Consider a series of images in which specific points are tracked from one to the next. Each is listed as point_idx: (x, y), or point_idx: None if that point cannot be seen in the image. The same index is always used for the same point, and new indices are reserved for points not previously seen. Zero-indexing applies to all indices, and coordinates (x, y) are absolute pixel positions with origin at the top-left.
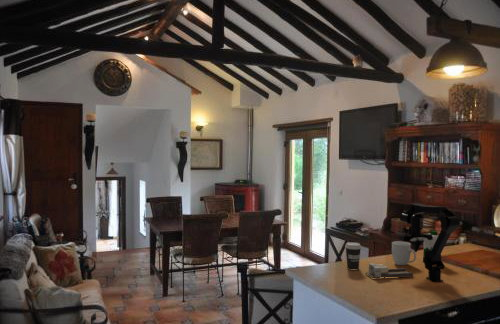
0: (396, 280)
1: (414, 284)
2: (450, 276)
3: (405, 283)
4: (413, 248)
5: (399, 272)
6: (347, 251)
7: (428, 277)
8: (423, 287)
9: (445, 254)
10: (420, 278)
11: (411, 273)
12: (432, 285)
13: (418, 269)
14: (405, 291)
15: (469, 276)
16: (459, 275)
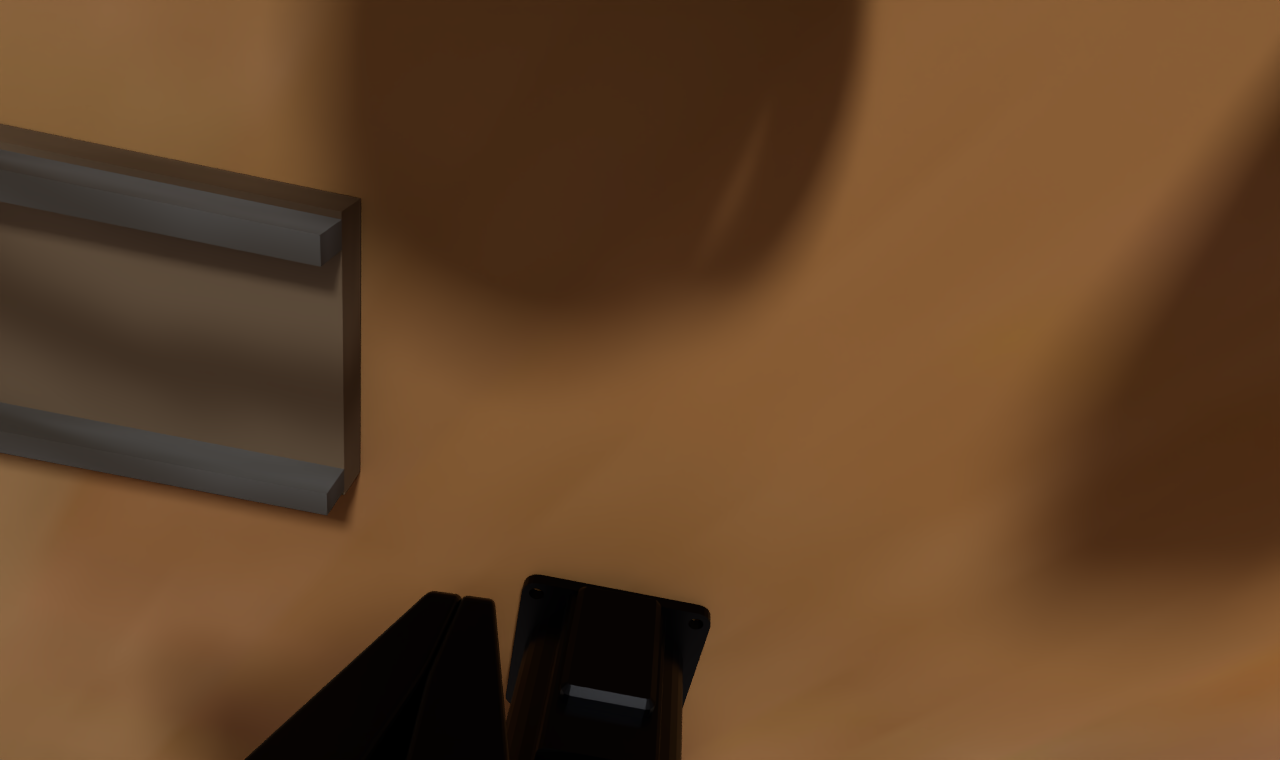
0: (15, 483)
1: (219, 661)
2: (990, 627)
3: (110, 604)
4: (319, 705)
5: (152, 294)
6: None
7: (566, 597)
8: None
9: None
10: (450, 540)
11: (298, 505)
12: None
13: (818, 128)
14: (11, 752)
15: (1257, 712)
16: (1176, 644)
